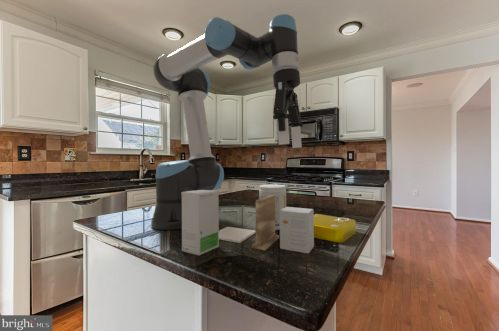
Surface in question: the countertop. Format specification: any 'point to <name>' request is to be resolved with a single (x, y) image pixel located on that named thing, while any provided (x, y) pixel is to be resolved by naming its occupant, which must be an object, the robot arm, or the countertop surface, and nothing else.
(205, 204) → the skincare box
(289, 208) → the small box
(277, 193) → the supplement tub
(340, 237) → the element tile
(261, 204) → the oak screen
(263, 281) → the countertop surface
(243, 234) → the cream pad
